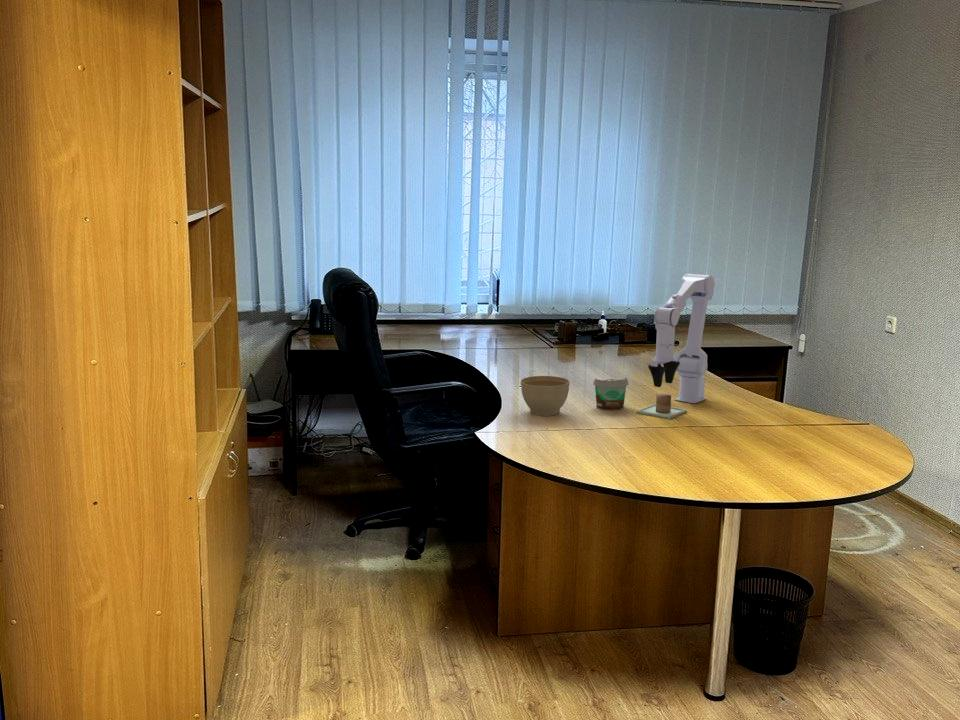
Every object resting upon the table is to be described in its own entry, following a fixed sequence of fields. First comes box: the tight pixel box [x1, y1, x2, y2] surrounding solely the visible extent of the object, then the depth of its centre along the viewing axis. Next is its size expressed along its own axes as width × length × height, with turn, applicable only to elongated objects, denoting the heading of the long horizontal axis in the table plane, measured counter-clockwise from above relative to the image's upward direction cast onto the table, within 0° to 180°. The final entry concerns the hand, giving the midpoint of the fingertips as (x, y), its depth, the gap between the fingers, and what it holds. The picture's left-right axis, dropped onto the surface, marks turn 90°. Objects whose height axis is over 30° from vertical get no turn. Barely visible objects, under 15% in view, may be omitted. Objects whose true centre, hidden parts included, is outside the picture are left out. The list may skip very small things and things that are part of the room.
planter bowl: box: [520, 375, 571, 417], centre depth 290 cm, size 16×16×11 cm
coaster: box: [636, 403, 688, 420], centre depth 293 cm, size 12×12×1 cm
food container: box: [592, 376, 629, 411], centre depth 297 cm, size 12×6×10 cm, turn 105°
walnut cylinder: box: [655, 393, 672, 413], centre depth 292 cm, size 5×5×6 cm
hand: (663, 384), depth 291 cm, fingers open, 7 cm apart
